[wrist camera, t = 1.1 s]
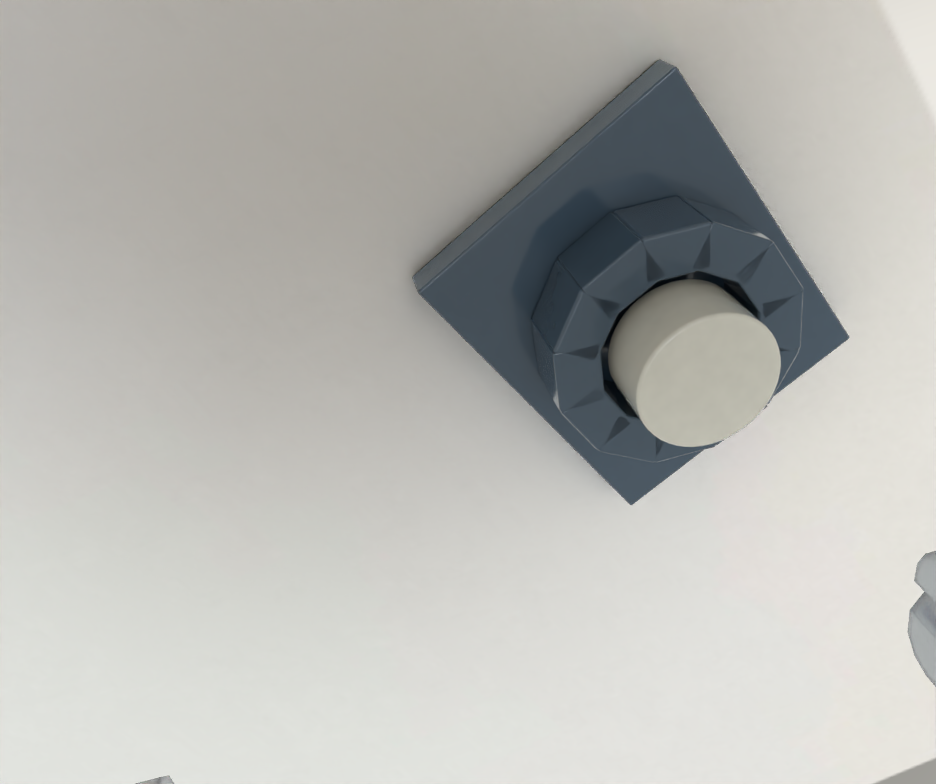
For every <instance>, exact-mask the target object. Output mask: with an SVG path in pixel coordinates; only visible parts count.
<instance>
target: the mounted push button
mask: <svg viewBox="0 0 936 784" xmlns="http://www.w3.org/2000/svg"><path fill="white" fill-rule="evenodd" d="M412 278H413V281H414V283H415V286H416V288H417V291H418V293H419V294H420V295H421V296H422V297H423V298H424V299H425V300H426V301H427V302H428V303H429V304H430V305H431V306H432V307H433V308H434V309H435V310H436V311H437V312H438V313H439V314H440V315H441V316H442V317H443V318H444V319H445V320H446V321H447V322H448V323H449V324H450V325H451V326H452V327H453V328H454V329H455V330H456V331H457V332H458V333H459V334H460V335H461V336H462V337H463V338H464V339H465V340H466V341H467V342H468V343H469V344H470V345H471V346H472V347H473V348H474V349H475V350H476V351H477V352H478V353H479V354H480V355H481V356H482V357H483V358H484V359H485V360H486V361H487V362H488V363H489V364H490V365H491V366H492V367H493V368H494V369H495V370H496V371H497V372H498V373H499V374H500V375H501V376H502V377H503V378H504V379H505V380H506V381H507V382H508V383H509V384H510V385H511V386H512V387H513V388H514V389H515V390H516V391H517V392H518V393H519V394H520V395H521V396H522V397H523V398H524V399H525V400H526V401H527V402H528V403H529V404H530V405H531V406H532V407H533V408H534V409H535V410H536V411H537V412H538V413H539V414H540V415H541V416H542V417H543V418H544V419H545V420H546V421H547V422H548V423H549V424H550V425H551V426H552V427H553V428H554V429H555V430H556V431H557V432H558V433H559V434H560V435H561V436H562V437H563V438H564V439H565V440H566V441H567V442H568V443H569V444H570V445H571V446H572V447H573V448H574V449H575V450H576V451H577V452H578V453H579V454H580V455H581V456H582V457H583V458H584V459H585V460H586V461H587V462H588V463H589V464H590V465H591V466H592V467H593V468H594V469H595V470H596V471H597V472H598V473H599V474H600V475H601V476H602V477H603V478H604V479H605V480H606V481H607V482H608V483H609V484H610V485H611V486H612V487H613V488H614V489H615V490H616V491H617V492H618V493H619V494H620V495H621V496H622V497H623V498H624V499H625V500H626V501H627V502H628V503H629V504H630V505H633V504H634V503H635V502H637V501H638V500H639V499H640V498H642V497H643V496H644V495H646V494H647V493H648V492H650V491H651V490H652V489H653V488H655V487H656V486H657V485H659V484H660V483H661V482H663V481H664V480H665V479H666V478H668V477H669V476H670V475H672V474H673V473H674V472H676V471H677V470H678V469H680V468H681V467H682V466H683V465H685V464H686V463H687V462H689V461H690V460H691V459H693V458H694V457H695V456H696V455H698V454H699V453H700V452H702V451H703V450H704V449H708V448H712V447H714V446H715V445H718V444H719V443H720V442H722V441H723V440H722V441H719V442H716V443H713V444H709V445H705V446H697V447H683V446H676V445H673V444H669V443H666V442H664V441H662V440H660V439H658V438H657V437H655V436H654V435H653V434H651V433H650V432H649V431H648V430H647V428H646V427H645V426H644V424H643V423H642V422H641V420H640V419H639V417H638V416H637V415H636V413H635V412H634V410H633V409H632V408H631V406H630V405H629V403H628V402H627V401H626V399H625V398H624V396H623V395H622V394H621V392H620V391H619V389H618V388H617V386H616V385H615V383H614V381H613V379H612V377H611V374H610V371H609V365H608V352H609V345H610V341H611V337H612V334H613V332H614V329H615V327H616V326H617V324H618V322H619V320H620V319H621V317H622V316H623V314H624V313H625V312H626V311H627V310H628V308H629V307H630V306H631V305H632V304H633V303H634V302H636V301H637V300H638V299H639V298H640V297H642V296H643V295H644V294H646V293H647V292H649V291H651V290H652V289H654V288H656V287H658V286H661V285H663V284H666V283H669V282H672V281H677V280H685V279H696V280H704V281H708V282H711V283H714V284H717V285H718V286H720V287H722V288H723V289H725V290H726V291H727V292H728V293H729V294H731V295H732V296H733V297H734V298H735V299H736V300H737V301H739V302H740V303H741V304H742V305H743V306H744V307H745V308H746V309H748V310H749V311H750V312H751V313H752V314H753V315H754V316H755V317H757V318H758V319H759V320H760V321H761V322H762V323H763V324H764V325H766V326H767V327H768V329H769V330H770V331H771V332H772V334H773V335H774V337H775V339H776V341H777V344H778V346H779V351H780V356H781V368H780V375H779V379H778V383H777V386H776V388H775V391H774V393H773V395H772V397H771V399H772V398H773V396H775V395H776V394H777V393H779V392H780V391H781V390H782V389H784V388H785V387H786V386H788V385H789V384H790V383H792V382H793V381H794V380H795V379H797V378H798V377H799V376H801V375H802V374H803V373H805V372H806V371H807V370H809V369H810V368H811V367H812V366H814V365H815V364H816V363H818V362H819V361H820V360H822V359H823V358H824V357H825V356H827V355H828V354H829V353H831V352H832V351H833V350H835V349H836V348H837V347H838V346H840V345H841V344H842V343H844V342H845V341H846V340H848V339H849V336H848V334H847V332H846V331H845V329H844V328H843V326H842V325H841V323H840V321H839V320H838V318H837V317H836V315H835V314H834V312H833V311H832V309H831V307H830V306H829V304H828V303H827V301H826V300H825V298H824V297H823V295H822V293H821V292H820V290H819V289H818V287H817V286H816V284H815V282H814V281H813V279H812V278H811V276H810V275H809V273H808V272H807V270H806V268H805V267H804V265H803V264H802V262H801V261H800V259H799V257H798V256H797V254H796V253H795V251H794V250H793V248H792V247H791V245H790V243H789V242H788V240H787V239H786V237H785V236H784V234H783V232H782V231H781V229H780V228H779V226H778V225H777V223H776V222H775V220H774V218H773V217H772V215H771V214H770V212H769V211H768V209H767V208H766V206H765V204H764V203H763V201H762V200H761V198H760V197H759V195H758V193H757V192H756V190H755V189H754V187H753V186H752V184H751V183H750V181H749V179H748V178H747V176H746V175H745V173H744V172H743V170H742V168H741V167H740V165H739V164H738V162H737V161H736V159H735V158H734V156H733V154H732V153H731V151H730V150H729V148H728V147H727V145H726V143H725V142H724V140H723V139H722V137H721V136H720V134H719V133H718V131H717V129H716V128H715V126H714V125H713V123H712V122H711V120H710V119H709V117H708V115H707V114H706V112H705V111H704V109H703V108H702V106H701V104H700V103H699V101H698V100H697V98H696V97H695V95H694V94H693V92H692V90H691V89H690V87H689V86H688V84H687V83H686V81H685V79H684V78H683V76H682V75H681V73H680V72H679V70H678V69H677V67H675V66H673V65H671V64H669V63H667V62H664V61H662V60H658V61H657V62H656V63H655V64H653V65H652V66H651V67H650V68H649V69H648V70H647V71H645V72H644V73H643V74H642V75H641V76H640V77H639V78H638V79H636V80H635V81H634V82H633V83H632V84H631V85H630V86H628V87H627V88H626V89H625V90H624V91H623V92H622V93H621V94H619V95H618V96H617V97H616V98H615V99H614V100H613V101H611V102H610V103H609V104H608V105H607V106H606V107H605V108H604V109H602V110H601V111H600V112H599V113H598V114H597V115H596V116H594V117H593V118H592V119H591V120H590V121H589V122H588V123H586V124H585V125H584V126H583V127H582V128H581V129H580V130H579V131H577V132H576V133H575V134H574V135H573V136H572V137H571V138H569V139H568V140H567V141H566V142H565V143H564V144H563V145H562V146H560V147H559V148H558V149H557V150H556V151H555V152H554V153H552V154H551V155H550V156H549V157H548V158H547V159H546V160H544V161H543V162H542V163H541V164H540V165H539V166H538V167H537V168H535V169H534V170H533V171H532V172H531V173H530V174H529V175H527V176H526V177H525V178H524V179H523V180H522V181H521V182H520V183H518V184H517V185H516V186H515V187H514V188H513V189H512V190H510V191H509V192H508V193H507V194H506V195H505V196H504V197H502V198H501V199H500V200H499V201H498V202H497V203H496V204H495V205H493V206H492V207H491V208H490V209H489V210H488V211H487V212H485V213H484V214H483V215H482V216H481V217H480V218H479V219H478V220H476V221H475V222H474V223H473V224H472V225H471V226H470V227H468V228H467V229H466V230H465V231H464V232H463V233H462V234H460V235H459V236H458V237H457V238H456V239H455V240H454V241H453V242H451V243H450V244H449V245H448V246H447V247H446V248H445V249H443V250H442V251H441V252H440V253H439V254H438V255H437V256H436V257H434V258H433V259H432V260H431V261H430V262H429V263H428V264H426V265H425V266H424V267H423V268H422V269H421V270H420V271H418V272H417V273H416V274H415V275H414V276H413V277H412ZM771 399H770V400H769V402H768V403H767V404H769V403H770V401H771ZM766 407H767V405H766V406H765V408H766ZM765 408H764V409H765Z"/></svg>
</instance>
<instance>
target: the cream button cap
mask: <svg viewBox="0 0 936 784" xmlns="http://www.w3.org/2000/svg"><path fill="white" fill-rule="evenodd" d="M608 365H609V371H610V374H611V377H612V379H613V381H614V383H615V385H616V386H617V388H618V389H619V391H620V392H621V394H622V395H623V396H624V398H625V399H626V401H627V402H628V403H629V405H630V406H631V408H632V409H633V410H634V412H635V413H636V415H637V416H638V417H639V419H640V420H641V422H642V423H643V424H644V426H645V427H646V428H647V430H648V431H649V432H650V433H651V434H653V435H654V436H655V437H657V438H658V439H660V440H662V441H664V442H666V443H669V444H673V445H676V446H683V447H697V446H705V445H709V444H713V443H716V442H719V441H722V440H724V439H726V438H728V437H730V436H732V435H734V434H736V433H737V432H739V431H740V430H742V429H743V428H745V427H746V426H747V425H748V424H749V423H751V422H752V421H753V420H754V419H755V418H756V417H757V416H758V415H759V414H760V412H761V411H762V410H763V409H764V408H765V406H766V405H767V403H768V402H769V400H770V399H771V397H772V395H773V393H774V391H775V388H776V386H777V383H778V379H779V375H780V368H781V356H780V351H779V346H778V344H777V341H776V339H775V337H774V335H773V334H772V332H771V331H770V330H769V329H768V327H767V326H766V325H764V324H763V323H762V322H761V321H760V320H759V319H758V318H757V317H755V316H754V315H753V314H752V313H751V312H750V311H749V310H748V309H746V308H745V307H744V306H743V305H742V304H741V303H740V302H739V301H737V300H736V299H735V298H734V297H733V296H732V295H731V294H729V293H728V292H727V291H726V290H725V289H723V288H722V287H720V286H718V285H717V284H714V283H711V282H708V281H704V280H696V279H685V280H677V281H672V282H669V283H666V284H663V285H661V286H658V287H656V288H654V289H652V290H651V291H649V292H647V293H646V294H644V295H643V296H642V297H640V298H639V299H638V300H637V301H636V302H634V303H633V304H632V305H631V306H630V307H629V308H628V310H627V311H626V312H625V313H624V314H623V316H622V317H621V319H620V320H619V322H618V324H617V326H616V327H615V329H614V332H613V334H612V337H611V341H610V345H609V352H608Z"/></svg>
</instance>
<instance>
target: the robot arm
mask: <svg viewBox="0 0 936 784" xmlns="http://www.w3.org/2000/svg"><path fill="white" fill-rule="evenodd" d="M914 581H915V582H916V583H917V584H918V585H919V586H920V587H921V588H922V590H923V591H924V593H923V594H922V595H921V597H920V598H919V599H918V600H917V602H916V603H915V604H914V605H913V607H912V608H911V609H910V613H909V624H908V635H909V638H910V641H911V645H912V648H913V652H914V655H915V657H916V659H917V661H918V662H919V664H920V666H921V668H922V669H923V671H924V673H925V674H926V676H927V677H928V678H929V679H930V681H931V682H932V683H933V684H934V685H935V687H936V551H933V552H930V553H927V554H925V555H924V556H923V557H922V558H921V560H920V561H919V562H918V563H917V568H916V573H915V579H914ZM136 784H174V782H173V781H172V779H171V778H170V776H164V777H159V778H155V779H152V780H148V781H144V782H140V783H136Z"/></svg>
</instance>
